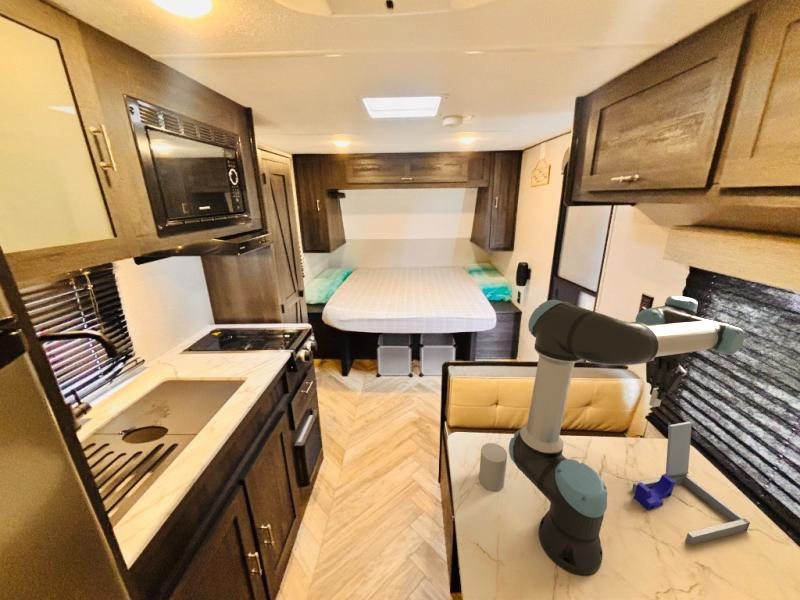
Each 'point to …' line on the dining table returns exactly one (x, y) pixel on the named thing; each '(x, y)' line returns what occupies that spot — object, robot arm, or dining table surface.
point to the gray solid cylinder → (492, 467)
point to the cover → (678, 449)
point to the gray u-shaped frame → (717, 531)
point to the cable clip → (654, 492)
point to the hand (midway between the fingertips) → (654, 405)
